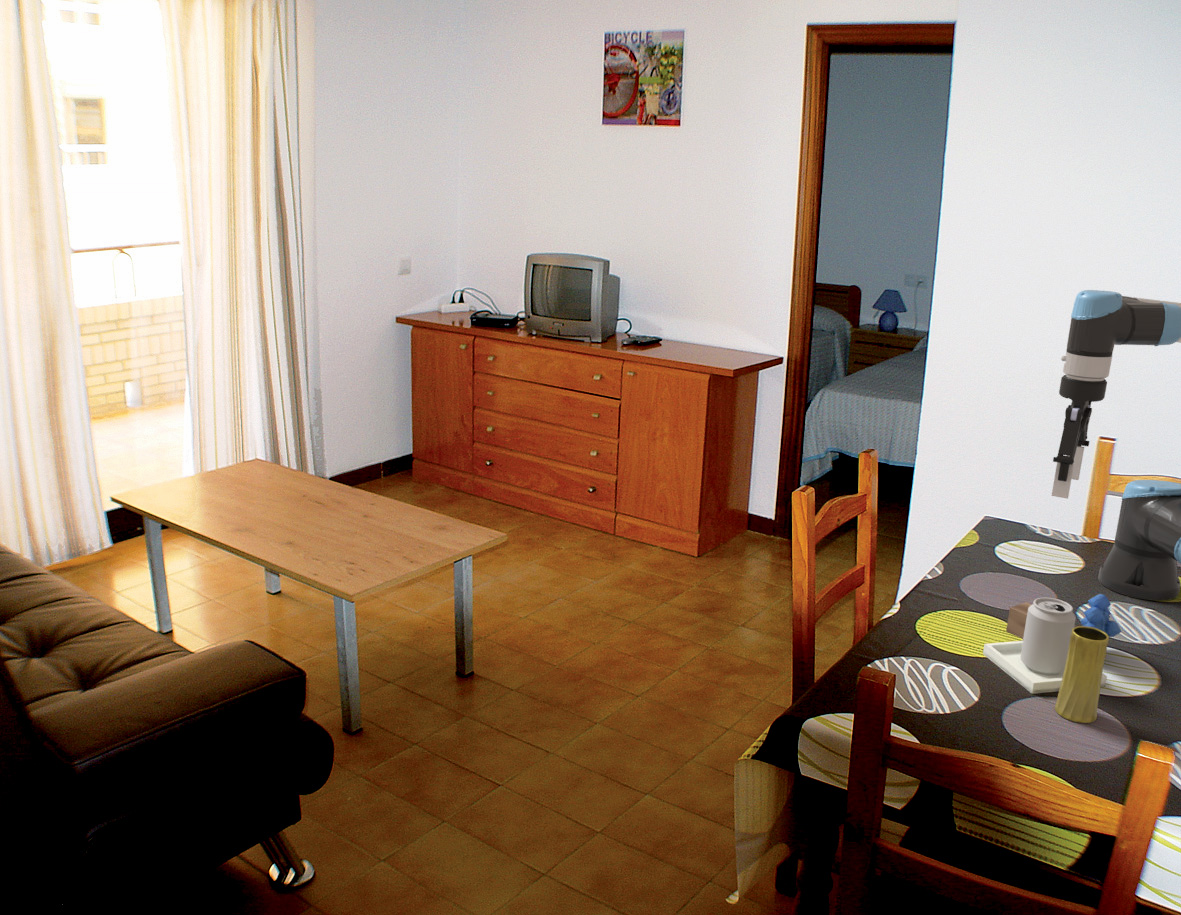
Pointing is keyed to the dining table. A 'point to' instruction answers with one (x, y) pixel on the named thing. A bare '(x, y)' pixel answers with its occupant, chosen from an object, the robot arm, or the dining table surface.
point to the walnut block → (1017, 619)
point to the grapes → (1100, 616)
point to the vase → (1082, 675)
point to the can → (1047, 635)
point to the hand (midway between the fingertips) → (1065, 487)
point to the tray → (1023, 668)
